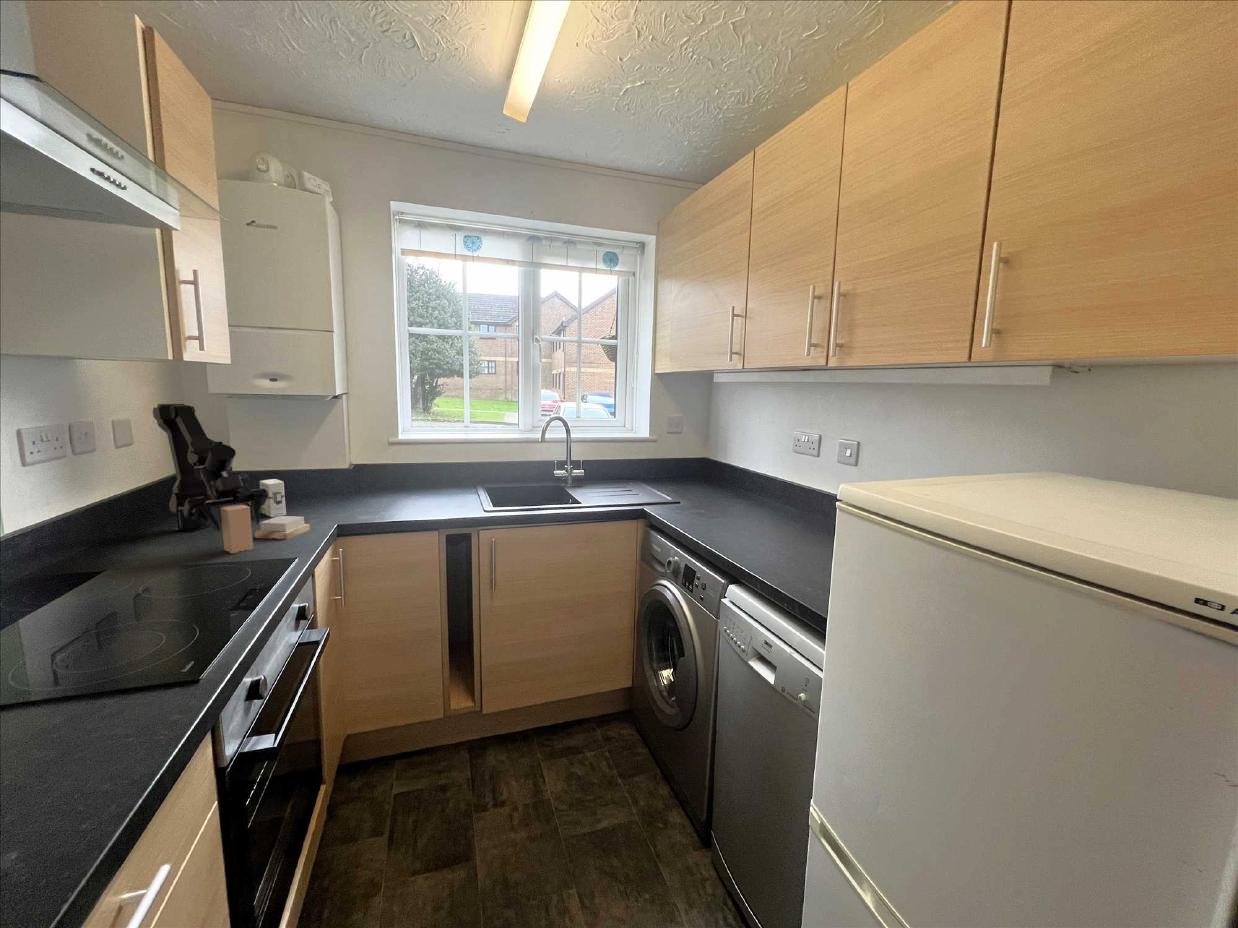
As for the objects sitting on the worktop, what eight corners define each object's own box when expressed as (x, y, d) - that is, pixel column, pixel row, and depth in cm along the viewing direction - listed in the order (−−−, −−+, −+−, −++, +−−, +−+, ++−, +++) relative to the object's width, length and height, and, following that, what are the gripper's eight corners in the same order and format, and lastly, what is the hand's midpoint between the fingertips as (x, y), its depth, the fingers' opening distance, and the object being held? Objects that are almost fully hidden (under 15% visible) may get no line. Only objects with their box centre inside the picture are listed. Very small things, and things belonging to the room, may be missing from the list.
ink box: (261, 513, 180) (258, 480, 178) (277, 510, 184) (274, 478, 182) (270, 517, 175) (268, 483, 173) (287, 514, 179) (284, 481, 177)
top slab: (260, 530, 153) (260, 522, 153) (280, 523, 161) (279, 515, 161) (286, 531, 153) (285, 523, 152) (304, 524, 161) (303, 516, 160)
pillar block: (224, 549, 141) (220, 507, 139) (245, 545, 145) (241, 504, 143) (232, 553, 138) (228, 510, 137) (253, 548, 143) (249, 506, 141)
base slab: (255, 539, 153) (254, 531, 152) (280, 530, 163) (279, 522, 162) (287, 541, 152) (286, 533, 152) (309, 531, 162) (309, 524, 161)
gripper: (182, 468, 133) (203, 516, 128) (263, 460, 148) (284, 503, 144) (174, 494, 138) (194, 541, 134) (253, 484, 154) (273, 525, 149)
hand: (239, 526), depth 140 cm, fingers open, 9 cm apart
